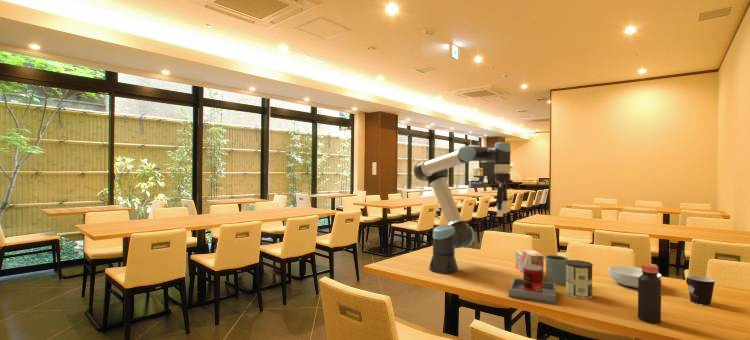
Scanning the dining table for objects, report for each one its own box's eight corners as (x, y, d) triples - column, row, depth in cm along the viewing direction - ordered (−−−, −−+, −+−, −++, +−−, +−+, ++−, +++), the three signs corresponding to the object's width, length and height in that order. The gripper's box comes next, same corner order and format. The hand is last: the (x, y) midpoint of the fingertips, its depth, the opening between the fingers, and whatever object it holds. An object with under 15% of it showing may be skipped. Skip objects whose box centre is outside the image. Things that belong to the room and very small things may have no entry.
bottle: (641, 322, 133) (641, 267, 133) (635, 315, 140) (636, 262, 140) (663, 325, 131) (664, 269, 131) (656, 318, 137) (657, 264, 137)
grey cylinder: (542, 281, 180) (542, 257, 180) (548, 277, 188) (549, 253, 188) (564, 286, 173) (565, 261, 173) (570, 281, 181) (571, 257, 181)
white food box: (515, 268, 205) (515, 246, 205) (526, 268, 205) (527, 246, 205) (530, 279, 184) (531, 255, 184) (543, 279, 184) (543, 255, 184)
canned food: (543, 290, 164) (543, 266, 164) (540, 296, 157) (541, 270, 157) (525, 287, 168) (525, 263, 168) (521, 292, 161) (521, 267, 161)
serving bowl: (663, 285, 177) (664, 271, 177) (658, 296, 161) (658, 280, 161) (612, 276, 191) (613, 263, 191) (603, 285, 176) (604, 270, 176)
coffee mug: (716, 308, 148) (717, 283, 148) (688, 303, 152) (689, 279, 152) (709, 299, 158) (710, 276, 158) (683, 295, 162) (684, 272, 162)
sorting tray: (508, 296, 158) (508, 288, 158) (513, 285, 174) (513, 277, 174) (555, 304, 150) (555, 295, 150) (555, 291, 166) (556, 283, 166)
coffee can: (580, 290, 168) (581, 259, 168) (598, 298, 158) (598, 265, 158) (560, 291, 166) (560, 260, 166) (576, 299, 156) (576, 266, 156)
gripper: (506, 173, 173) (506, 218, 174) (513, 172, 196) (512, 212, 196) (490, 173, 177) (489, 217, 177) (498, 172, 199) (498, 211, 199)
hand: (501, 215), depth 186 cm, fingers open, 13 cm apart
